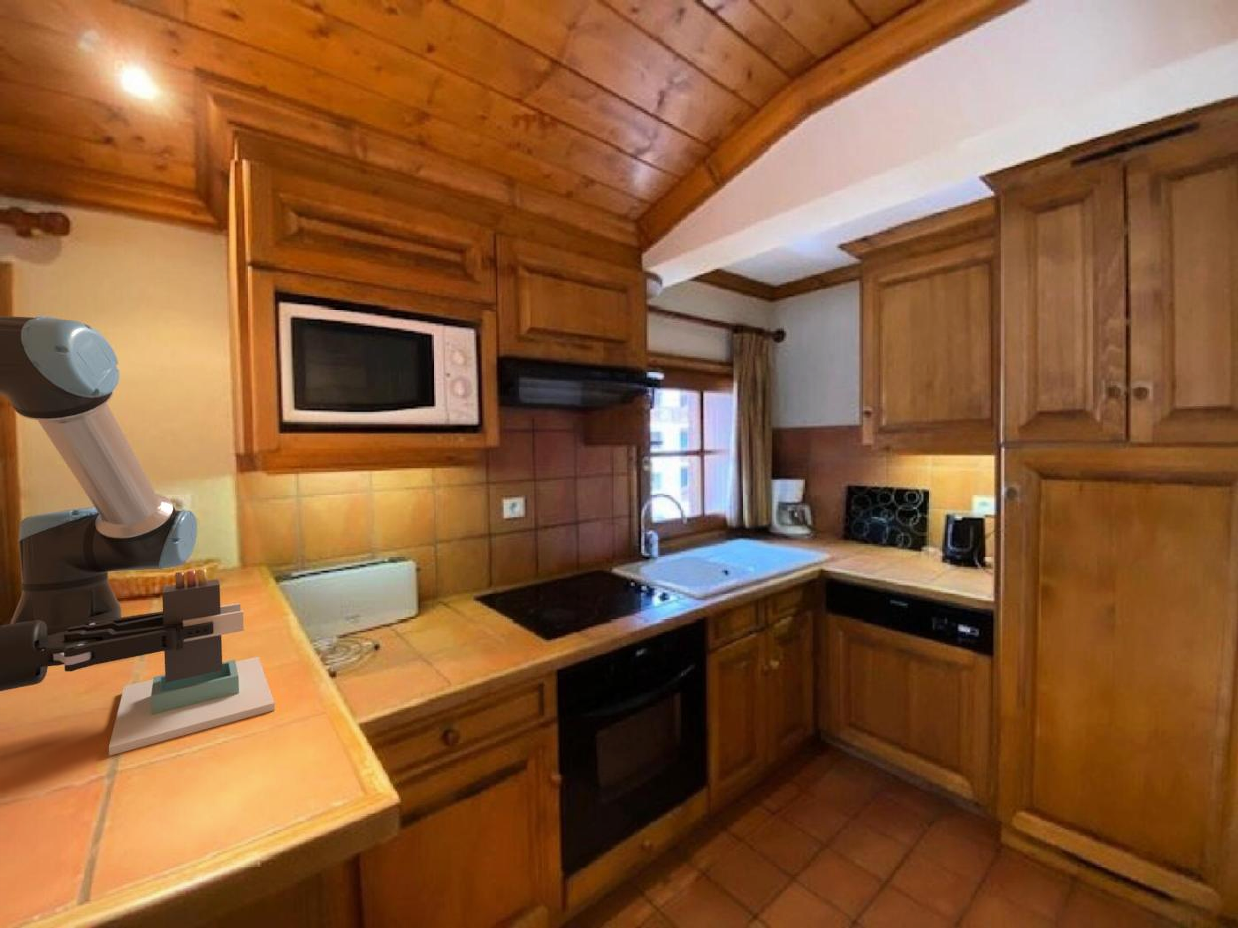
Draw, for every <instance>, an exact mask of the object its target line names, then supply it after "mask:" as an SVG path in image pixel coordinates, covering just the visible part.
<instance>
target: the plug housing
mask: <svg viewBox="0 0 1238 928" xmlns="http://www.w3.org/2000/svg"><path fill="white" fill-rule="evenodd" d="M174 576H175V584H171V585H163V586H162V591H161V593H162V594H161V597H162V599H161V600H162V611H163V626H164V625H172V624H177V623H179V624H182V627H183V620H189V619H195V618H201V617H207V616H213V615H219V614H221V610H220V606H221V586H220V580H219V579H218V578H217V579H210V580H208V579H207V569H206V568H201V569H198V570H197V576H198V578H196V570H193V569H192V570H187V571H186V583H185V572H184V571H179V572H178V571H177V572H175V575H174ZM196 579H198V580H197V581H196ZM222 643H223V641H222V635H218V636H213V637H207V638H202V639H197V640H191V641H186V642H184V640H183V648H182V649H180V650H176V648H175V649H172V650H166V651H163V652H164V675H165V682H171V681H175V680H180V679H184V678H189V677H193V676H198V675H202V674H207V673H211V672H216V671H220V670H222V662H223V649H222V648H223V645H222Z"/></svg>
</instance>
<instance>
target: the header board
mask: <svg viewBox="0 0 1238 928" xmlns="http://www.w3.org/2000/svg"><path fill="white" fill-rule="evenodd" d="M265 674H266V673H265V672H264V669H263V666H262V662H261V659H260V657H259V656H256V657H250V658H246V659H242V660H237V661H236V660H235V659H231V660H227V661H222V670H220V671H216V672H211V673H207V674H202V675H198V676H193V677H189V678H184V679H180V680H175V681H171V682H165V674H162V675H157V676H154V677H153V678H152V679H149V680H145V681H141V682H136V683H135V682H134V683H131V684H127V685H126V684H125V685H124V686H123V689H122V695H121V697H120V702H119V705H118V710H117V713H116V718H115V722H114V725H113V726H114V727H113V729H112V733H111V736H110V737H111V738H110V742H109V746H108V756H109V757H110V756H114V755H118V754H121V753H125V752H128V751H132V750H135V749H139V748H142V747H146V746H149V745H151V746H152V745H154V744H157V743H162V742H165V741H168V740H172V739H175V738H179V737H183V736H186V735H189V734H190V735H191V734H194V733H197V732H200V731H204V730H207V729H212V728H215V727H218V726H222V725H227V724H230V723H232V722H233V723H234V722H238V721H241V720H243V719H244V720H245V719H247V718H251V717H255V716H258V715H262V714H266V713H268V712H273V711H275V709H276V707H275V706H276V705H275V700H274V698H273V695H272V692H271V689H270V688H271V687H270V686H269V683H268V679H267V677H266V675H265Z"/></svg>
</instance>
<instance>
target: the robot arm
mask: <svg viewBox="0 0 1238 928" xmlns="http://www.w3.org/2000/svg"><path fill="white" fill-rule="evenodd" d="M117 365H119V361H118V358H117V356H116V353H115V351H114V349H113V347H112V345H111V344H110V343H109V341H108V340H107V338H106V337H104V336H103V335H102V333H100V332H99V331H98V330H97V329H95V328H94V327H92V326H90V325H88V324H86V323H82V322H81V321H77V320H72V319H61V318H57V317H53V316H52V317H51V316H36V317H30V316H28V317H27V316H14V315H13V316H11V315H0V395H1V396H4V397H5V398H6V399H7V401H8V402H9V404H10V405H11V406H12V407H13V409H14V411H15V412H16V413H17V414H18V415H19V416H21V417H22V418H23V417H24V418H26V419H29V420H36V421H38V423H39V425H40V426H41V428H42V429H43V430H44V433H46V435H47V437H48V438H49V439H50V441H51V443H52V444H53V446H54V447H55V449H56V451H58V453H59V455H60V456H61V458H62V460H63V461H64V462H65V464H66V465H67V467H68V468H69V470H70V471H71V472H72V475H73V476H74V477H75V479H76V480H77V482H78V484H79V485H80V487H81V488H82V490H83V491H84V493H85V494H86V496H87V497H88V499H89V501H91V503H92V505H93V506H89V507H80V508H73V509H68V510H67V509H66V510H59V511H53V512H46V513H40V514H34V515H29V516H27V517H25V518H23V519H22V520H21V522H20V524H19V529H18V530H19V531H18V539H17V542H18V544H19V545H18V546H19V563H20V564H19V565H20V579H21V596H20V598H19V601H18V604H17V606H16V609H15V611H14V614H13V616H12V618H11V621H10V623H9V624H8V623H7V624H2V625H0V692H3V691H9V690H14V689H19V688H23V687H29V686H34V685H38V684H40V683H41V682H43V681H44V679H46V676H47V672H48V667H55V666H56V667H57V666H63V665H64V672H74V671H76V670H82V669H83V668H84V669H85V668H88V667H92V666H96V665H100V664H106V663H111V662H114V661H115V662H116V661H121V660H126V659H131V658H136V657H142V656H145V655H151V654H155V653H160V652H164V651H166V650H172V649H175V648H176V650H180V649H182V648H183V640H184V642H186V641H191V640H197V639H202V638H207V637H213V636H218V635H221V636H223V635H228V634H233V633H238V632H243V631H244V630H245V629H244V610H241V602H238V603H231V604H226V605H224V604H223V605H220V610H221V614H219V615H213V616H207V617H201V618H195V619H189V620H183V627H182V624H179V623H177V624H172V625H164V626H163V610H161V611H157V612H149V613H143V614H138V615H137V614H136V615H130V616H123V617H122V607H121V604H120V602H119V601H118V598H117V597H116V595H115V593H114V591H113V589H112V587H111V585H110V583H109V578H108V577H109V576H108V575H109V574H108V572H124V571H141V570H142V571H144V570H145V571H146V570H164V569H170V568H178V567H180V566H182V565H184V564H185V563H186V562H188V561H189V559H190V557H191V555H192V554H193V551H194V549H195V546H196V542H197V536H198V521H197V518H196V515H195V514H194V512H193V511H191V510H185V509H181V510H177V509H176V508H175V506H174V504H173V503H172V501H171V500H170V498H168V497H166V496H165V495H162V494H159V493H156V491H155V489H154V487H153V485H152V484H151V482H150V480H149V478H148V477H147V475H146V472H145V471H144V469H143V467H142V466H141V464H140V461H139V460H138V457H137V456H136V455H135V452H134V451H133V448H132V447H131V445H130V443H129V441H128V439H127V438H126V436H125V434H124V432H123V430H122V428H121V426H120V425H119V423H118V421H117V419H116V417H115V416H114V414H113V411H112V409H111V408H110V406H109V404H108V402H110V400H111V399H112V398H113V395H114V390H115V389H116V388H117V386H118V384H119V379H120V369H118V367H117Z"/></svg>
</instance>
